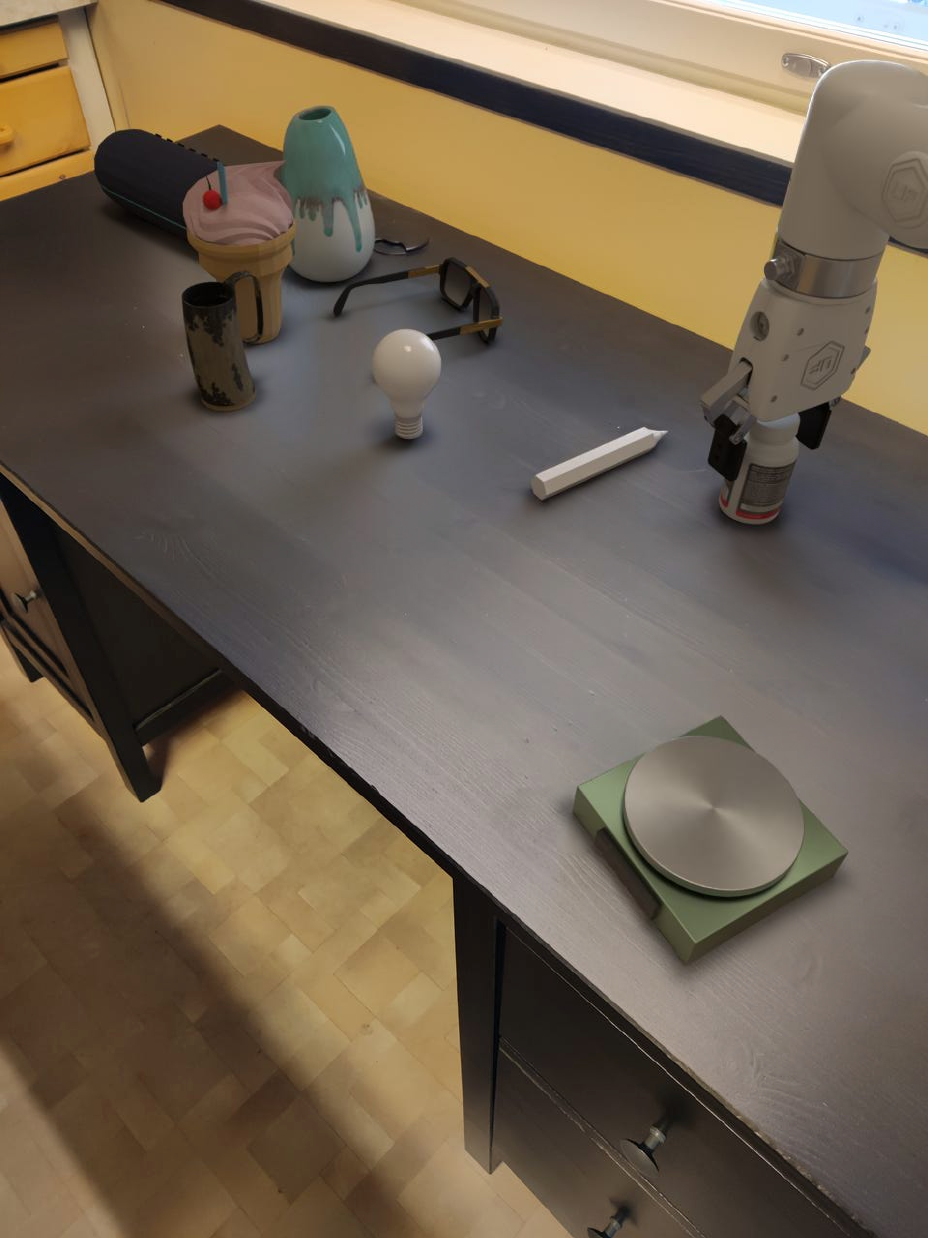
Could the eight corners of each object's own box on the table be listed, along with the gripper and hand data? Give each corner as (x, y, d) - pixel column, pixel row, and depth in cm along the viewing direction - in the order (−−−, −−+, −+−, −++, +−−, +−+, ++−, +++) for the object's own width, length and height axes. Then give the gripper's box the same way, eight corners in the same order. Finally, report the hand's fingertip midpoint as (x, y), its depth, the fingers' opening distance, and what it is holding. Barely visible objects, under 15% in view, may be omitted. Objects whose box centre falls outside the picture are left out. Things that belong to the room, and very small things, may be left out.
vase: (263, 281, 111) (239, 120, 98) (311, 241, 118) (294, 86, 105) (350, 300, 108) (336, 137, 95) (393, 258, 115) (386, 101, 102)
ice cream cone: (318, 350, 101) (296, 157, 86) (216, 367, 98) (176, 171, 84) (296, 302, 108) (272, 116, 93) (201, 317, 105) (161, 128, 91)
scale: (712, 739, 66) (721, 714, 64) (834, 875, 59) (849, 852, 57) (566, 813, 62) (570, 789, 59) (679, 969, 55) (689, 948, 52)
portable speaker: (278, 246, 117) (267, 163, 110) (216, 273, 112) (199, 189, 105) (159, 189, 129) (141, 111, 121) (96, 212, 123) (74, 132, 116)
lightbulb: (411, 409, 93) (407, 308, 85) (455, 436, 90) (456, 334, 82) (362, 435, 90) (354, 332, 82) (406, 464, 87) (402, 361, 79)
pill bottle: (790, 507, 84) (822, 416, 76) (756, 535, 81) (786, 443, 74) (739, 480, 86) (766, 389, 79) (705, 506, 84) (729, 414, 76)
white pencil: (666, 445, 91) (539, 503, 84) (655, 427, 91) (527, 483, 85) (680, 432, 89) (550, 491, 82) (669, 414, 89) (538, 471, 82)
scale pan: (721, 718, 63) (724, 711, 62) (839, 845, 56) (843, 839, 56) (588, 785, 59) (589, 778, 59) (698, 929, 53) (700, 923, 52)
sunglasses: (333, 316, 106) (329, 274, 102) (453, 289, 110) (454, 248, 107) (380, 378, 97) (378, 334, 93) (509, 345, 102) (511, 303, 98)
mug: (214, 418, 92) (189, 305, 83) (190, 392, 95) (164, 281, 86) (285, 392, 95) (269, 281, 86) (260, 368, 98) (241, 258, 89)
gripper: (767, 313, 62) (712, 513, 74) (948, 256, 68) (868, 450, 80) (695, 265, 66) (654, 462, 79) (871, 216, 72) (807, 406, 85)
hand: (763, 455), depth 79 cm, fingers open, 8 cm apart
